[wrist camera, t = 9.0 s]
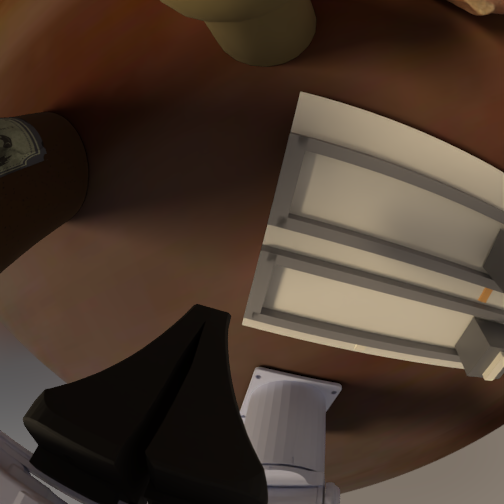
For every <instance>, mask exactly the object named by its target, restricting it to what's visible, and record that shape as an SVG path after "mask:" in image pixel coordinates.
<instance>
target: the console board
mask: <svg viewBox="0 0 504 504" xmlns="http://www.w3.org/2000/svg"><path fill="white" fill-rule="evenodd" d="M500 229H502V230H504V173H503V172H502V171H500V170H498V169H496V168H495V167H493V166H491V165H489V164H487V163H486V162H484V161H482V160H480V159H478V158H476V157H474V156H472V155H470V154H468V153H467V152H465V151H463V150H461V149H458V148H456V147H454V146H452V145H450V144H448V143H446V142H444V141H442V140H439V139H437V138H435V137H433V136H430V135H428V134H426V133H423V132H421V131H419V130H416V129H414V128H411V127H409V126H407V125H404V124H401V123H399V122H396V121H394V120H391V119H388V118H386V117H383V116H380V115H377V114H374V113H372V112H369V111H366V110H363V109H360V108H357V107H354V106H350V105H347V104H344V103H341V102H337V101H334V100H331V99H327V98H324V97H320V96H316V95H313V94H309V93H305V92H301V91H300V95H299V99H298V103H297V107H296V112H295V116H294V120H293V124H292V128H291V132H290V135H289V139H288V143H287V147H286V151H285V155H284V159H283V163H282V167H281V172H280V176H279V180H278V184H277V188H276V192H275V196H274V200H273V204H272V208H271V212H270V216H269V220H268V225H267V229H266V233H265V237H264V241H263V245H262V248H261V251H260V255H259V259H258V263H257V267H256V271H255V275H254V279H253V283H252V287H251V291H250V295H249V299H248V303H247V306H246V310H245V314H244V319H243V323H242V325H245V326H249V327H253V328H257V329H260V330H264V331H268V332H272V333H276V334H280V335H284V336H289V337H293V338H297V339H301V340H306V341H310V342H314V343H319V344H323V345H328V346H333V347H337V348H342V349H347V350H352V351H357V352H362V353H367V354H373V355H378V356H383V357H389V358H395V359H400V360H406V361H412V362H419V363H425V364H432V365H439V366H446V367H453V368H461V369H464V367H463V364H462V362H461V360H460V357H459V355H458V353H457V351H456V348H455V344H456V343H457V341H458V340H459V339H460V337H461V336H462V334H463V333H464V331H465V330H466V328H467V326H468V325H469V323H470V322H471V320H472V319H473V317H476V318H480V319H484V320H488V321H492V322H496V323H500V324H504V293H503V291H502V290H501V289H500V288H499V286H498V285H497V284H496V283H495V281H494V280H493V279H492V278H491V276H490V275H489V274H488V273H487V272H486V270H485V269H484V268H483V265H484V263H485V261H486V259H487V257H488V255H489V253H490V251H491V249H492V246H493V244H494V242H495V240H496V238H497V235H498V233H499V231H500Z"/></svg>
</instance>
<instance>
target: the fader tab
mask: <svg viewBox="0 0 504 504" xmlns="http://www.w3.org/2000/svg"><path fill="white" fill-rule="evenodd" d="M483 268H484V269H485V270H486V272H487V273H488V274H489V275H490V276H491V278H492V279H493V280H494V281H495V283H496V284H497V285H498V286H499V288H500V289H501V290H502V291H503V293H504V230H502V229H500V231H499V233H498V235H497V238H496V240H495V242H494V244H493V246H492V249H491V251H490V253H489V255H488V257H487V259H486V261H485V263H484V265H483Z"/></svg>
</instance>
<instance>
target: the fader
mask: <svg viewBox="0 0 504 504" xmlns="http://www.w3.org/2000/svg"><path fill="white" fill-rule="evenodd" d="M455 348H456V351H457V353H458V355H459V357H460V360H461V362H462V364H463V367H464V369H465V372H466V374H467V376H473V377H483V378H484V380H489V381H493V379H494V378H495V379H499V378H500V377H501V376H502V374H503V373H504V324H500V323H496V322H492V321H488V320H484V319H480V318H476V317H473V319H472V320H471V322H470V323H469V325H468V326H467V328H466V330H465V331H464V333H463V334H462V336H461V337H460V339H459V340H458V341H457V343H456V344H455Z"/></svg>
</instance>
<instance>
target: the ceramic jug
mask: <svg viewBox="0 0 504 504" xmlns="http://www.w3.org/2000/svg"><path fill="white" fill-rule="evenodd" d="M447 1H449V2H451V3H453V4H454V5H456V6H458V7H460V8H462V9H464V10H466V11H467V12H469V13H471V14H473V15H476V16H482V15H488V14H490V13H494V14H504V0H447Z"/></svg>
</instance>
